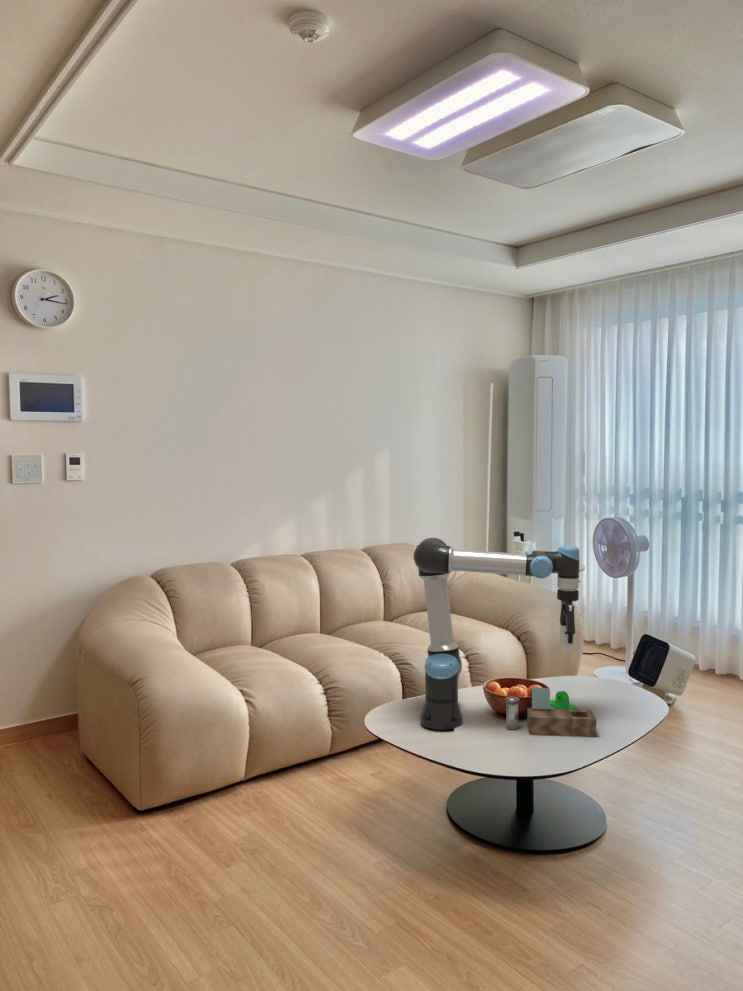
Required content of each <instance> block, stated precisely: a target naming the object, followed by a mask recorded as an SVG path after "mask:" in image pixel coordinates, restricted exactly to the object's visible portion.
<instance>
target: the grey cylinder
mask: <svg viewBox="0 0 743 991" xmlns="http://www.w3.org/2000/svg"><path fill="white" fill-rule="evenodd" d="M504 700H505V703H506V715H505V716H506V718H505V719H506V720H505V721H506V723H505V725H506V729H508V730H518V729H519V703H520V697H517V696H506V697H505V699H504Z"/></svg>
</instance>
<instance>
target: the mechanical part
mask: <svg viewBox="0 0 743 991" xmlns="http://www.w3.org/2000/svg"><path fill="white" fill-rule="evenodd" d="M550 708H551V709H571V710H579V707H577V706H575V705H573V704H570V697H569V695H568V692H566V691H565V690H559V691H556V693H555V699H550Z"/></svg>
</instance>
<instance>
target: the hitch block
mask: <svg viewBox="0 0 743 991" xmlns="http://www.w3.org/2000/svg"><path fill="white" fill-rule="evenodd" d="M526 709H527V710H526V712H527V714H526V715H527V716H526V717H527V718H526V720H527V721H526V722H527V730H528V733H529V734H528V735H529V736H530V735H531V736H558V737H578V738H579V737H580V738H581V737H583V738H588V737H589V738H597V718H596V716H595V714H594V712H593V710H592V709H578V710H571V709H554V708H550V710H532V709H531V707H527V708H526Z"/></svg>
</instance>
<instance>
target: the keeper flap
mask: <svg viewBox="0 0 743 991" xmlns="http://www.w3.org/2000/svg"><path fill="white" fill-rule="evenodd" d="M550 700H551V689H550V687H531V707H530V708H531V709H532V710H550V709H551V707H550Z"/></svg>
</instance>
